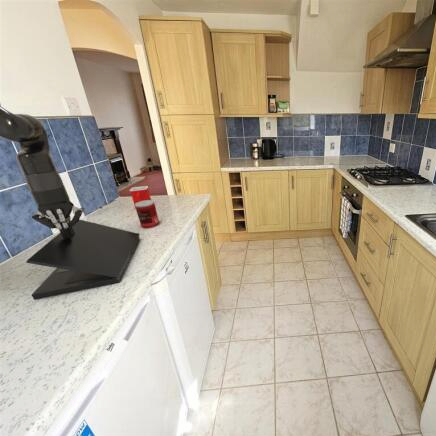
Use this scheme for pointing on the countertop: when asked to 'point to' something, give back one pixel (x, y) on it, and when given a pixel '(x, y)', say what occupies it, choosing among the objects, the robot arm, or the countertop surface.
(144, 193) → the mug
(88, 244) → the laptop screen
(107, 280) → the laptop
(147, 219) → the canned food
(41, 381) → the countertop surface
